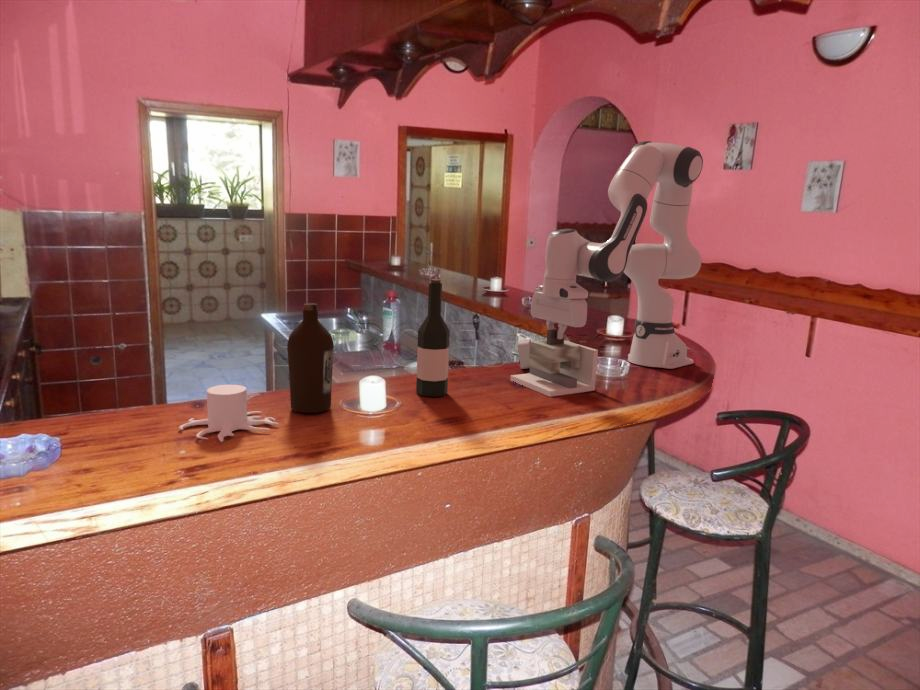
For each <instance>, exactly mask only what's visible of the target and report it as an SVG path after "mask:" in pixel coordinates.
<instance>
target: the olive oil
mask: <svg viewBox="0 0 920 690" xmlns="http://www.w3.org/2000/svg"><path fill="white" fill-rule="evenodd" d="M318 313H319V310H318V303H313V302H308V303H304V304H303V309H302V320H301V322H300V323H299V324H298V325H297V326H296V327H295V328H294V329H293V330H292V331H291V333H289V337H288V340H287V343H286V347H287V348H286V349H287V361H288V375H289V376H288V377H289V379H288V380H289V393H290V394H289V396H290V408H291V410H292V411H294V412H297V413H305V414H313V413H314V414H315V413H320V412H321V413H322V412H326V411H328V410H329V409H330V408H331V407H332V390H333V388H332V387H333V386H332V385H333V383H332V381H333V364H334V350H335V348H334V347H335V345H334V340H333V336H332V334H331V333H330V331H328V330H327V328H326V327H325V326H324V325H323V324H322V323H321V322H320V321H319V319H318V316H319V315H318Z"/></svg>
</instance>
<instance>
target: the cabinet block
mask: <svg viewBox="0 0 920 690" xmlns="http://www.w3.org/2000/svg"><path fill="white" fill-rule="evenodd" d="M558 329H559V328H555V329H552V330H548V329H547V332H546V339H543V340H534V341H532V340H531V342H530V352H529V366H531V367H534V368H536V369H539V370H542V371H544V372H547V373H550V374H554V373H560V368H563V369H565V370H568V371H577V370H579V362H580V349H581V346H580V345H581V344H579V345H576V344H577V343H575V344H573V343H574V342H572V343H569V342H570V341H569V342H566V341H567V340H565V333H566V331H565V332H564V333H563V339H556V338H555V332H558ZM564 340H565V341H564Z"/></svg>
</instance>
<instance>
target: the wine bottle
mask: <svg viewBox="0 0 920 690" xmlns="http://www.w3.org/2000/svg"><path fill="white" fill-rule="evenodd" d="M442 298H443V282H441V279H438V278H431V279H430V282H428V300H427V301H428V304H427V306H428V307H427V316H426V317H425V319H424V321H423V322H422V324H421V325H420V327H419V328H418V330H417V353H416V354H417V356H416V357H417V358H416V384H415V385H416V386H415V387H416V389H415V390H416V392H415V393H416V394H418V395H420V396H423V397H429V398H430V397H431V398H435V397H442V396H445V395H446V394H447V393H448V386H449V385H448V384H449V383H448V382H449V363H450V361H449V360H450V359H449V358H450V357H449V356H450V355H449V354H450V329H449V327H448V326H447V324H446V321H445V319H444V318H443V316H442Z"/></svg>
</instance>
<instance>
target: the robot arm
mask: <svg viewBox="0 0 920 690" xmlns="http://www.w3.org/2000/svg"><path fill="white" fill-rule="evenodd" d="M703 163H704V159H703V155H702V153H701V152H700V151H699V150H698V149H695V148H694V147H690V146H684V145H680V144H676V143H671V142H667V143H666V142H656V141H655V142H653V141H649V140H647V141H645V140H643V141H639V142H637V143H636V144H634V146H633V147H632V148H631V150H630V151H629V153H628V156H627V157H626V158H625V159H624V160H623V162H622V163H621V165H620V166H619V168H618V169H617V170H616V173H615V174H614V176H613V178H612V179H611V181H610V184H609V185H608V189H607V197H608V199H609V201H610V202H611V204H612V205H613V207H615V209H617V210H618V211H619V212H620V217H619V219H618V221H617V223H616V225H615V228H614V230H613V233H612V234H611V237H610V238H609V239H608V240H607V241H605V242H602V243H601V242H593V241H590V240H589V239H586V238H585V237H584V236H581V234H579V233H578V231H577V230H576V229H574V228H560V229H556V230H553V231H552V232H550V233H549V235H548V237H547V239H546V246H545V253H544V254H545V255H544V265H545V271H544V274H543V281H542V282H543V284H540V285H537V286H536V288H534V293H533V295H532V298H531V299H532V300H531V305H530V314H531V316H532V318H537V319H541V320H545V321H546V323H545V324H546V328H547V330H552V329H556V328H555V324H557V327H558V328H557V329H558V332H555V338H556V339H563V333H564V332H565V333H566V330H567V328H568V327H572V328H583V327H585V325H586V323H587V318H588V302H587V300H586V299H588V297H589V290H587V289H585V288H584V287H582V286H581V285H580V284H579V283H577V276H581V277H586V278H591V279H595V280H599V281H601V282H605V283H610V282H614V281H616V280H618V278H620V277H621V276H622V274H625V275H626V276H627V277H628V278H629V279H630V280H631V281H632V284H633V285H634V287H635V291H636V294H637V312H636V313H637V315H636V319H635V321H634V331H635V332H634V334H633V337H632V341H631V346H630V351H629V353H628V354H627V357H628V358H627V361H628V362H630V363H632V364H634V365H638V366H643V367H650V368H663V369H670V370H671V369H672V370H673V369H676V368H677V369H678V368H681V367H685V366H688V365H689V366H690V365H692V364H694V359H692V358H690V357H687V355H688V347H687V345H686V343H685V342H684V341H682V339H681V338H679V336H678V335H677V334H675V330H676V329H677V330H680V328H681V323H680V322H675V321H674V322H673V314H674V306H675V305H674V304H675V302H674V297H673V296H672V295H671V293H669V292H668V291H666V290H665V289H663V288H662V287H660V284H659V280H660V279H662V280H665V279H666V280H668V279H669V280H681V279H683V280H684V279H688V278H689V279H690V278H694V277H695V276H696V275H697V274H698V273H699V271H700V269H701V267H702V256H701V254H700V252H699V250H698V249H697V248H696V247H695V246H694V245H693V243H692V242H691V241H690V238H689V236H688V229H687V227H688V217H689V213H690V207H691V206H690V205H691V201H692V195H693V194H692V193H693V185H694V183H695V182H696V181H697V179H698V178H699V177H700V175H701V173H702V170H703V165H704V164H703ZM656 182H657V183H656ZM655 184H656V186H655ZM654 186H655V190H654V195H653V200H652V206H651V212H650V216H649V225H650V227H651V228H652V229H653V231H655V232H656V233H657V234H659V235H661V236H663V239H664V240H663V243H636V244H635V243H634V242H635V240H636V238H637V235H638V233H639V231H640V229H641V227H642V224H643V222H644V220H645V217H646V215H647V210H648V199H649V198H648V197H649V195H650V194H651V192H652V190H653V188H654Z"/></svg>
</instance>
